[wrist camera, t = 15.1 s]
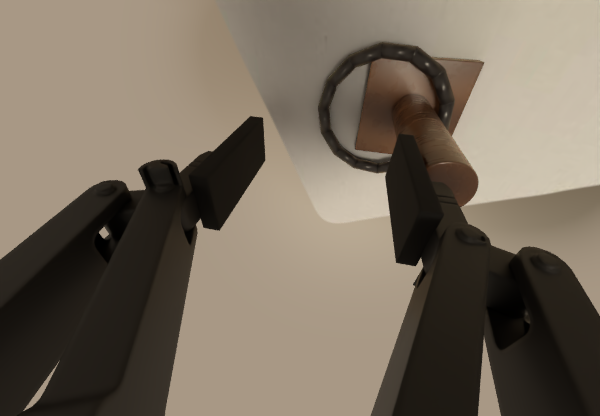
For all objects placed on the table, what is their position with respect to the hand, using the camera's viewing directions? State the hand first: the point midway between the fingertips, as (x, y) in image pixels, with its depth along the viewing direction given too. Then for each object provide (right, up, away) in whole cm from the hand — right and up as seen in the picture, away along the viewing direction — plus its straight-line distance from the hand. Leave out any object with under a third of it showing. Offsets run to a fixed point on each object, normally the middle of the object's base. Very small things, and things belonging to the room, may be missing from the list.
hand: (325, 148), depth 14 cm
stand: (+8, +5, +8) cm, 12 cm away
